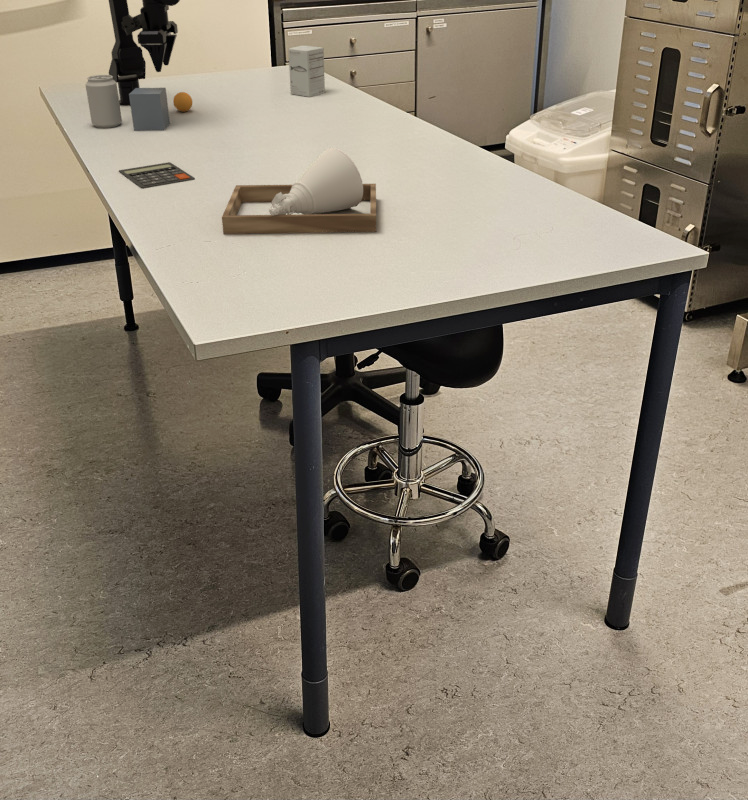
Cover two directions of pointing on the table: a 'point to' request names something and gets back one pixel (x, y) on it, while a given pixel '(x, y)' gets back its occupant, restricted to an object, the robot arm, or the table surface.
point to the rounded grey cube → (149, 109)
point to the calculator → (156, 175)
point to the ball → (182, 101)
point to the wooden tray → (292, 222)
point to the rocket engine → (323, 187)
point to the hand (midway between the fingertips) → (162, 68)
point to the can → (103, 101)
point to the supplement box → (306, 70)
